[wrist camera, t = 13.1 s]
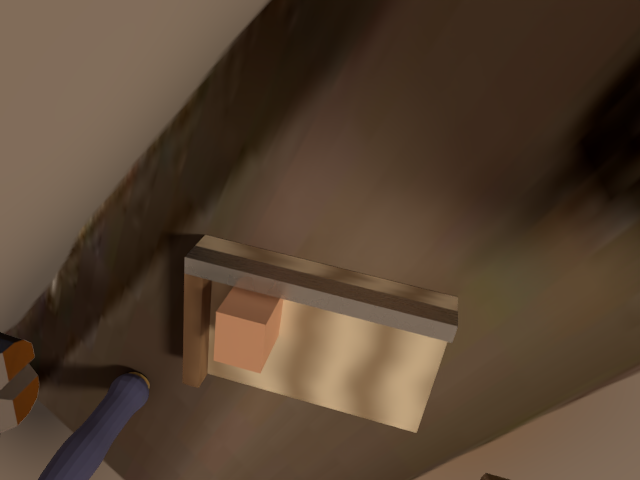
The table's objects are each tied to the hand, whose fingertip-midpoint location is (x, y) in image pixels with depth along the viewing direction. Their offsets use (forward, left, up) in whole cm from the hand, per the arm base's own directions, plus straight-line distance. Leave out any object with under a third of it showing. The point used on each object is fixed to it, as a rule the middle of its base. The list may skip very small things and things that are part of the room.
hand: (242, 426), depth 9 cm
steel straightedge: (+3, +17, -29) cm, 34 cm away
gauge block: (+8, +21, -29) cm, 37 cm away
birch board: (+3, +23, -31) cm, 39 cm away
